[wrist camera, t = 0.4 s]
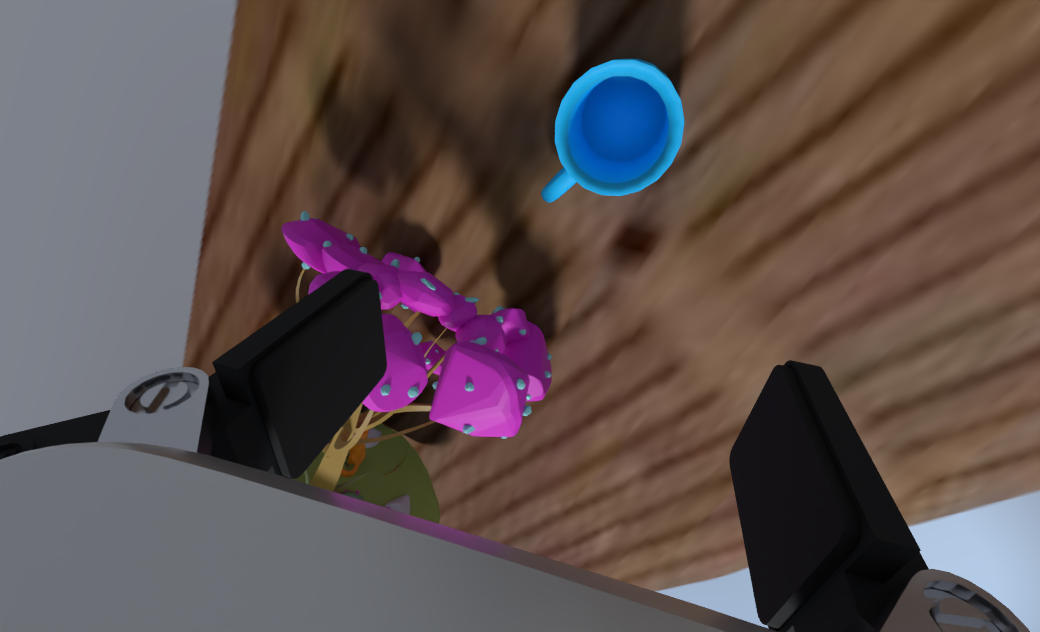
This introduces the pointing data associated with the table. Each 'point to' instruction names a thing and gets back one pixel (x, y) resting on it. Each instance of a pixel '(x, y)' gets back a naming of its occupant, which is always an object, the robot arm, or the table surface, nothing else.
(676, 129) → the mug
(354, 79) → the table surface
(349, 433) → the tree
